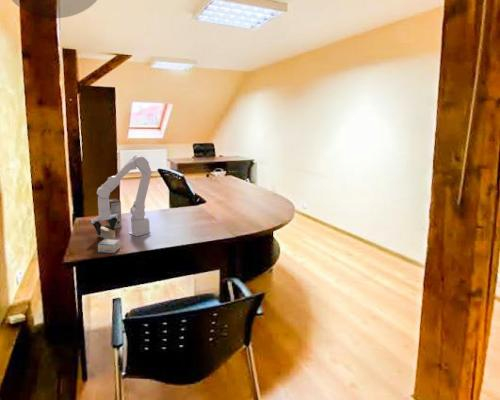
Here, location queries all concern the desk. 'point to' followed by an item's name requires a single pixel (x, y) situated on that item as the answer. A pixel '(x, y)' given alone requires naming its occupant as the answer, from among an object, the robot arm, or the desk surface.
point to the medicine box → (109, 245)
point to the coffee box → (115, 211)
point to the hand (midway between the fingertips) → (105, 233)
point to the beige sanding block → (107, 233)
